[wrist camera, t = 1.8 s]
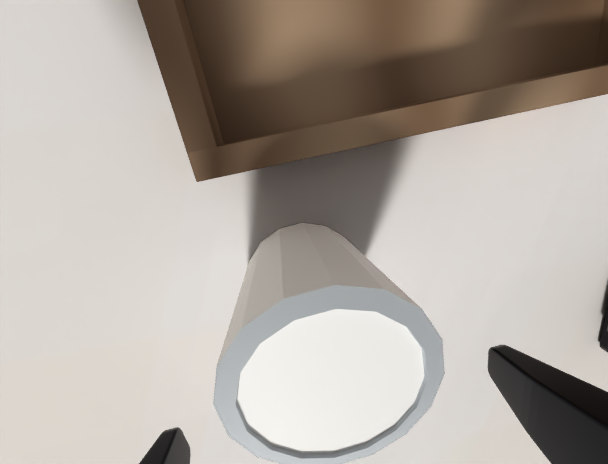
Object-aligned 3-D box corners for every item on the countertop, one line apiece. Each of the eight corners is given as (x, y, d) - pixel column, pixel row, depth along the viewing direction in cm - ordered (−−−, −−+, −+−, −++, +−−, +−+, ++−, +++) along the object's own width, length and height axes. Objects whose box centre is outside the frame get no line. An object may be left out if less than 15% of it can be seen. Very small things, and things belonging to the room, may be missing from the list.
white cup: (241, 338, 16) (227, 487, 9) (226, 214, 14) (193, 301, 7) (366, 324, 17) (433, 454, 10) (372, 205, 14) (465, 275, 8)
